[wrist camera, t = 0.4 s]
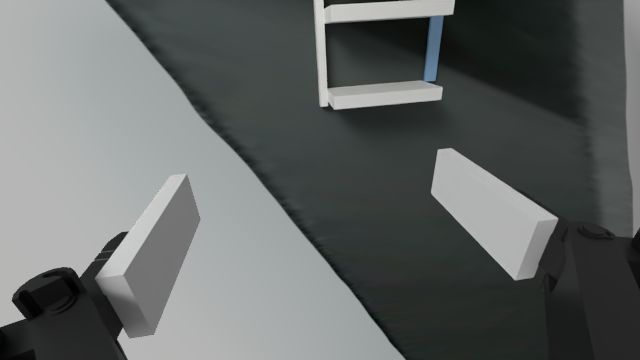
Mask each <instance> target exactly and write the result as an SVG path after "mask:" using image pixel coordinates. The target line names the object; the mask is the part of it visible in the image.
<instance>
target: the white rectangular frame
mask: <svg viewBox="0 0 640 360" xmlns="http://www.w3.org/2000/svg"><path fill="white" fill-rule="evenodd" d="M454 3H455V0H412V1H394V2H377V3H359V4H341V5H330V6H328V7H326V8H325V9H324V2H323V0H314V16H315V34H316V51H317V68H318V85H319V103H320V106H321V107H325V106H328V102H329V103H330V105H331V106H332V107H333V109H334V110H336V109H347V108H358V107H368V106H379V105H390V104H401V103H412V102H423V101H434V100H441V97H442V90H443V87H440V86H437V85H434V84H431V83H428V82H424V81H421V80H419V81H407V82H395V83H383V84H372V85H360V86H348V87H336V88H327V70H326V47H325V25H324V24H329V23H345V22H361V21H377V20H393V19H409V18H424V17H434V16H443V15H451V14H453V11H454Z"/></svg>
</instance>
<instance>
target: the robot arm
mask: <svg viewBox="0 0 640 360" xmlns="http://www.w3.org/2000/svg"><path fill="white" fill-rule="evenodd" d="M431 194H432V195H433V196H434V197H435V198H436V199H437V200H438V201H439V202H440V203H441V204H442V205H443V206H444V207H445V208H446V209H447V210H448V211H449V212H450V213H451V215H452V216H453V217H454V218H455V219H456V220H457V221H458V222H459V223H460V224H461V225H462V226H463V227H464V228H465V229H466V230H467V231H468V232H469V233H470V234H471V235H472V236H473V237H474V238H475V239H476V240H477V241H478V242H479V243H480V245H481V246H482V247H483V248H484V249H485V250H486V251H487V252H488V253H489V254H490V255H491V256H492V257H493V258H494V259H495V260H496V261H497V262H498V263H499V264H500V265H501V266H502V267H503V268H504V269H505V270H506V271H507V272H508V274H509V275H510V276H511V277H512V278H513V279H514V280H520V279H527V278H533V277H534V275H535V273H536V270H537V268H538V266H540V267H542V268H543V269H544V270H545V271H546V275H545V277H544V279H543V281H542V283H541V286H540V288H539V290H538V293H537V294H538V295H541V294H542V292H543V291H544V294H545V309H546V323H547V337H548V351H549V360H640V228H639V230H638V232H637V233H636V235H635V236H634V238H627V237H616V236H615V235H614V234H613V233H612V232H610V231H609V230H607V229H605V228H603V227H600V226H598V225H595V224H591V223H587V222H580V221H578V222H570V221H568V220H567V219H565V218H564V217H562V216H560V215H559V214H557V213H556V212H554V211H553V210H551V209H550V208H548V207H546V206H545V205H542V203H540V202H539V201H537V200H534V198H532V197H531V196H529V195H528V194H526V193H525V192H523V191H520V190H517V189H515V188H512V187H510V186H508V185H507V184H505V183H504V182H502V181H501V180H499V179H498V178H496V177H494V176H493V175H491V174H490V173H488V172H487V171H485V170H484V169H482V168H481V167H479V166H478V165H476V164H475V163H473V162H472V161H470V160H469V159H467V158H466V157H464V156H463V155H461V154H459V153H458V152H456V151H455V150H453V149H452V148H448V149H438V153H437V159H436V165H435V171H434V178H433V184H432V190H431ZM199 222H200V216H199V213H198V209H197V206H196V203H195V199H194V196H193V193H192V189H191V186H190V182H189V179H188V176H187V174H180V175H171V176H170V177H169V179H168V180H167V181H166V183H165V184H164V185H163V187H162V188H161V189H160V191H159V192H158V193H157V195H156V196H155V198H154V199H153V200H152V202H151V203H150V204H149V206H148V207H147V208H146V210H145V211H144V212H143V214H142V215H141V217H140V218H139V219H138V220H137V222H136V223H135V225H134V226H133V227H132V229H131V230H130V231H128V232H121V233H120V234H118V235H117V236H116V237H114V238H113V239H111V240H110V241H109V242H108V243H107V244H106V246H105V247H104V248H103V249H102V251H101V253H99V255H98V256H97V257H96V258H95V261H94V262H92V263H91V264H90V266H89V267H88V268H87V269H86V271H85V272H84V273H83V274H82V276H81V277H80V278H79V277H78V275H77V274H76V272H75V271H74V270H73V269H72V268H67V267H62V268H56V269H52V270H49V271H47V272H44V273H41V274H39V275H38V276H36V277H34V278H32V279H30V280H29V281H27V282H26V283H25V284H24V285H22V286H21V287H20V288H19V289H18V290H17V291H16V293H14V295H13V298H12V302H13V303H14V304H15V306H16V307H17V308H18V309H19V311H20V312H21V313H22V314H23V315H24V317H25V318H26V319H24V320H20V321H18V322H15V323H12V324H9V325H6V326H3V327H0V360H128V359H127V357H126V355H125V354H124V351H123V349H122V347H121V345H120V344H119V342H118V340H117V338H118V336H119V334H120V332H121V330H122V328H124V330H125V332H126V333H127V335H128V337H129V338H135V337H142V336H148V335H154V333H155V330H156V328H157V325H158V323H159V320H160V318H161V315H162V313H163V310H164V308H165V306H166V303H167V301H168V298H169V296H170V293H171V291H172V288H173V286H174V283H175V281H176V278H177V276H178V273H179V270H180V268H181V266H182V264H183V261H184V259H185V256H186V254H187V251H188V249H189V246H190V244H191V241H192V239H193V236H194V234H195V232H196V229H197V227H198V224H199Z"/></svg>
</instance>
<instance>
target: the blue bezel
mask: <svg viewBox="0 0 640 360" xmlns="http://www.w3.org/2000/svg"><path fill="white" fill-rule="evenodd" d="M443 17H444V15H443V16H434V17H430V23H429V32H428V41H427V51H426V60H425V70H424V79H423V81H424V82H426V81H435V80H436V72H437V64H438V56H439V48H440V40H441V33H442V25H443Z"/></svg>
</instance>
